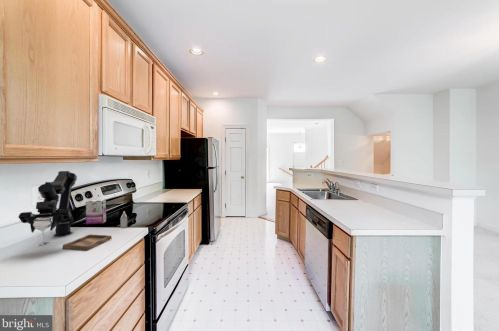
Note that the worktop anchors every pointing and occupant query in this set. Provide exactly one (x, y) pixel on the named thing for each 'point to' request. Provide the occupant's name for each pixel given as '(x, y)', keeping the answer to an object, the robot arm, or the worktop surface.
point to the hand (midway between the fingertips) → (41, 231)
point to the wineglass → (42, 227)
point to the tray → (87, 242)
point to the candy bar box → (95, 211)
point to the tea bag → (123, 220)
